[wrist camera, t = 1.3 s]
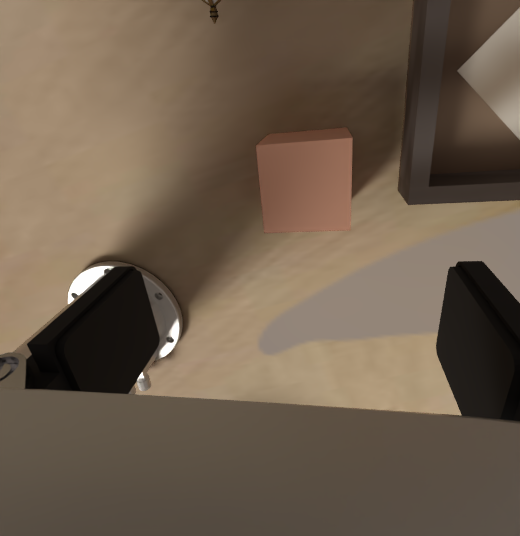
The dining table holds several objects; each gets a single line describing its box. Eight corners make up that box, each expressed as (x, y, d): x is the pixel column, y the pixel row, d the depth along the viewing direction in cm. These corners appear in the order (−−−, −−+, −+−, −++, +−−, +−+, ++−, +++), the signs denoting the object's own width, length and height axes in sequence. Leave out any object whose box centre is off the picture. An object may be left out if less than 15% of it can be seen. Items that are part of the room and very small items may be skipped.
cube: (345, 204, 29) (350, 230, 24) (274, 207, 30) (264, 232, 25) (347, 127, 27) (352, 137, 21) (268, 133, 28) (255, 145, 22)
